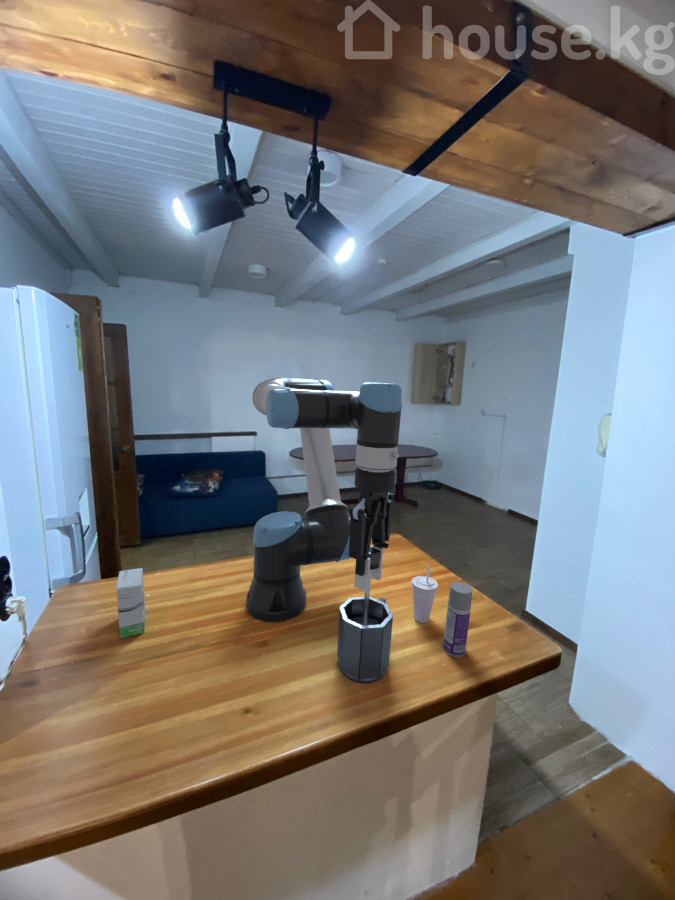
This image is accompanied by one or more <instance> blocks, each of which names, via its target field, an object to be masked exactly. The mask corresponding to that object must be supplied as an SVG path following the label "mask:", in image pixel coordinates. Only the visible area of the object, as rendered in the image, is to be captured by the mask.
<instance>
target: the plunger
mask: <svg viewBox="0 0 675 900" xmlns="http://www.w3.org/2000/svg"><path fill="white" fill-rule="evenodd" d="M368 558H371V560H370V574H369V589H368V591H367V592H365V591H364V596H363V597H364V611H363V617H356V618H353V619H351V621H354V622H356V623H358V624H360V625H362V626H367V625H379V624H380V623H379V622H378V621H376V620H375V619H373V618H370V617H368V611H369V597H371V596H370V594H371V593H370V592H371V583H372V582H371V581H372V580H371V579H372V578H371V570H373V569H377V568H379V567H380V565H381V551H380V550H378V549H376V548H372V547H370V549H369V555H368Z"/></svg>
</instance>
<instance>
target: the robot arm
mask: <svg viewBox="0 0 675 900" xmlns="http://www.w3.org/2000/svg"><path fill="white" fill-rule="evenodd" d="M359 388H360V389H359V390H335V387H334V385H333V384H332V383H331V382H330V381H329V380H326V379H319V378H311V379H309V378H295V377H294V378H293V377H275V378H274V377H273V378H270V379H267V380H264V381H261V382H260V383H259V384H257V385H256V386H255V387H254V390H253V392H252V403H253V405H254V408H255V409H256V410H257V411H258V412H259V413H260V414H262V415H264V416H266V420H267V424H268V426H269V427H271V428H276V429H284V430H290V429H299V432H300V440H301V447H302V457H303V464H304V472H305V479H306V487H307V497H308V503H309V506H308V508H307V509H306V510H305V512H304V518H303V517H302V516H301V514H300V513H298V512H295V511H287V510H286V511H285V510H283V511H276V512H271V513H268V514H266V515H264V516H262V517H261V518H260V519H258V520H257V522H256V523H255V525H254V528H253V529H254V530H253V538H252V544H253V578H252V580H251V583H250V586H249V590H248V592H247V594H246V599H245V601H246V602H245V603H246V605H245V606H246V607H245V608H246V611H247V612H248V614H249V615H250V616H251V617H253V618H254V619H256V620H259V621H262V622H265V623H266V622H267V623H278V622H279V623H280V622H286V621H289V620H292V619H294V618H296V617H298V616H299V615H301V614H302V612H303V611H304V609H305V608H306V607H307V593H306V590H305V587H304V584H303V579H302V577H301V567H303V566H309V565H316V564H317V565H318V564H326V563H333V562H336V563H338V562H340V561H346V560H350V559H354V560H355V566H354V571H355V572H354V586H353V587H354V588H355V589H358V590H361V591H363V592H364V593H365V592H367V591H368V589H369V574H370V560H371V558H368V555H369V549H370V547H372V548H376V549H378V550H380V551H381V565H380V567H379V568H377V569H373V570H371V579H374V580H377V581H380V580H381V579H382V570H383V569H382V567H383V559H384V558H383V555H384V549H386V550H387V549H388V548H389V546H390V545H389V543H387V542H389V541H390V536H391V535H390V534H391V525H392V515H393V514H392V513H393V512H392V511H393V505H394V500H395V493H390V492H393V491H394V489H395V487H396V477H397V471H396V469H395V468H396V467H397V462H398V460H397V459H398V458H400V454H399V453H398V448H399V447H398V446H399V438H400V437H399V436H400V428H401V418H402V417H401V416H402V409H403V403H402V392H403V391H402V387H401V386H400V384H399V383H390V382H388V383H385V382H372V381H371V382H369V381H366V382H363V383H362V384H361V385H360V387H359ZM330 429H355V430H357V432H356V433H357V435H356V438H357V439H356V453H355V465H356V467H355V470H354V471H355V472H354V486H355V488H357V490H358V491H359V498H358V500H357V503H358V504H357V505H356V506H355V507H354V506H350V507H349V508H348V505H346V503H344V502H342V500H341V493H340V488H339V481H338V475H337V469H336V462H335V456H334V455H335V454H334V450H333V443H332V438H331V432H330V431H331V430H330Z"/></svg>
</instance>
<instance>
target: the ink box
mask: <svg viewBox="0 0 675 900" xmlns="http://www.w3.org/2000/svg"><path fill="white" fill-rule="evenodd" d="M143 571H144V570H143V567H140V568H139V567H138V568H133V569H125V570H120V571H118V576H117V577H118V578H117V582H116V586H115V588H116V600H117V614H118V617H117V618H118V629H119V638H120V639H124V638H128V637H131V636H133V637H134V636H136V635H140V634H144V633H145V629H146V628H145V626H146V624H145V621H146V611H145V609H146V608H145V607H146V606H145V591H144V590H145V589H144V573H143Z"/></svg>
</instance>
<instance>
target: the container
mask: <svg viewBox="0 0 675 900" xmlns="http://www.w3.org/2000/svg"><path fill="white" fill-rule="evenodd" d="M449 587H450V588H449V593H448V594H449V595H448V601H447V609H446V616H445V618H446V619H445V626H444V634H443V643H442V644H443V646H442V649H443V651H444V652H445V653H446V654H448V655H449V656H450V657H454V658H461V657H463V656H465V654H466V649H467V642H468V641H467V640H468V634H469V633H468V632H469V625H470V617H471V610H472V609H471V607H472V599H473V587H472V586H471V585H469V584H467V583H465V582H463V581H462V582H460V581H456V582H452V583H450V586H449Z"/></svg>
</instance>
